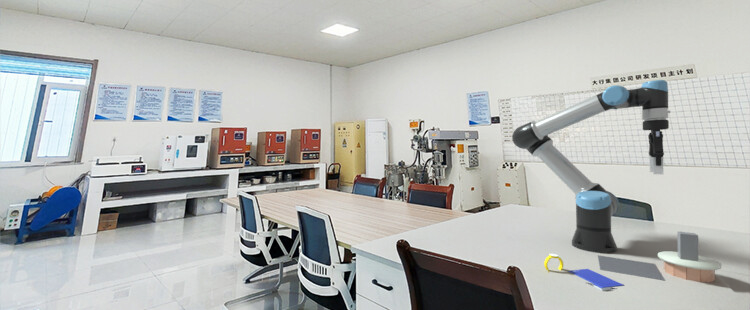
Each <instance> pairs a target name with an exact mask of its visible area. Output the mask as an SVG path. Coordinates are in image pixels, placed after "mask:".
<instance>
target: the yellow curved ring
mask: <svg viewBox="0 0 750 310" xmlns="http://www.w3.org/2000/svg"><path fill="white" fill-rule="evenodd" d="M551 259H558V261H559V266H558V268H557V269H558V270H559V271H562V270H563V269H564V261H563V259H562V258H561V257H559V254H556V253H549V254H548V256H546V257H545V259H544V263H543V265H544V268H545V270H546V271H547V272H548V273H550V272H551V270H550V269H549V267H548V263H549V261H550V260H551Z"/></svg>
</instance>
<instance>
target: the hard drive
mask: <svg viewBox="0 0 750 310" xmlns="http://www.w3.org/2000/svg"><path fill="white" fill-rule="evenodd" d="M567 272H569V273H570V274H572V275H575V276H577V277H579V278H581V279H583V280H585V281H587V284H588V285H590V286H592V287H593V288H595V289H598V290H600V291H602V292H603V291H611V290H612V291H613V290H618V288H615V287H622V286H625V284H623V283H621V282H618V281H616V280H614V279H611V278H609V277H607V276H604V275H603V274H600V273H598V272H596V271H594V270H591V269H589V268H581V269H573V270H568V271H567Z"/></svg>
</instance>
